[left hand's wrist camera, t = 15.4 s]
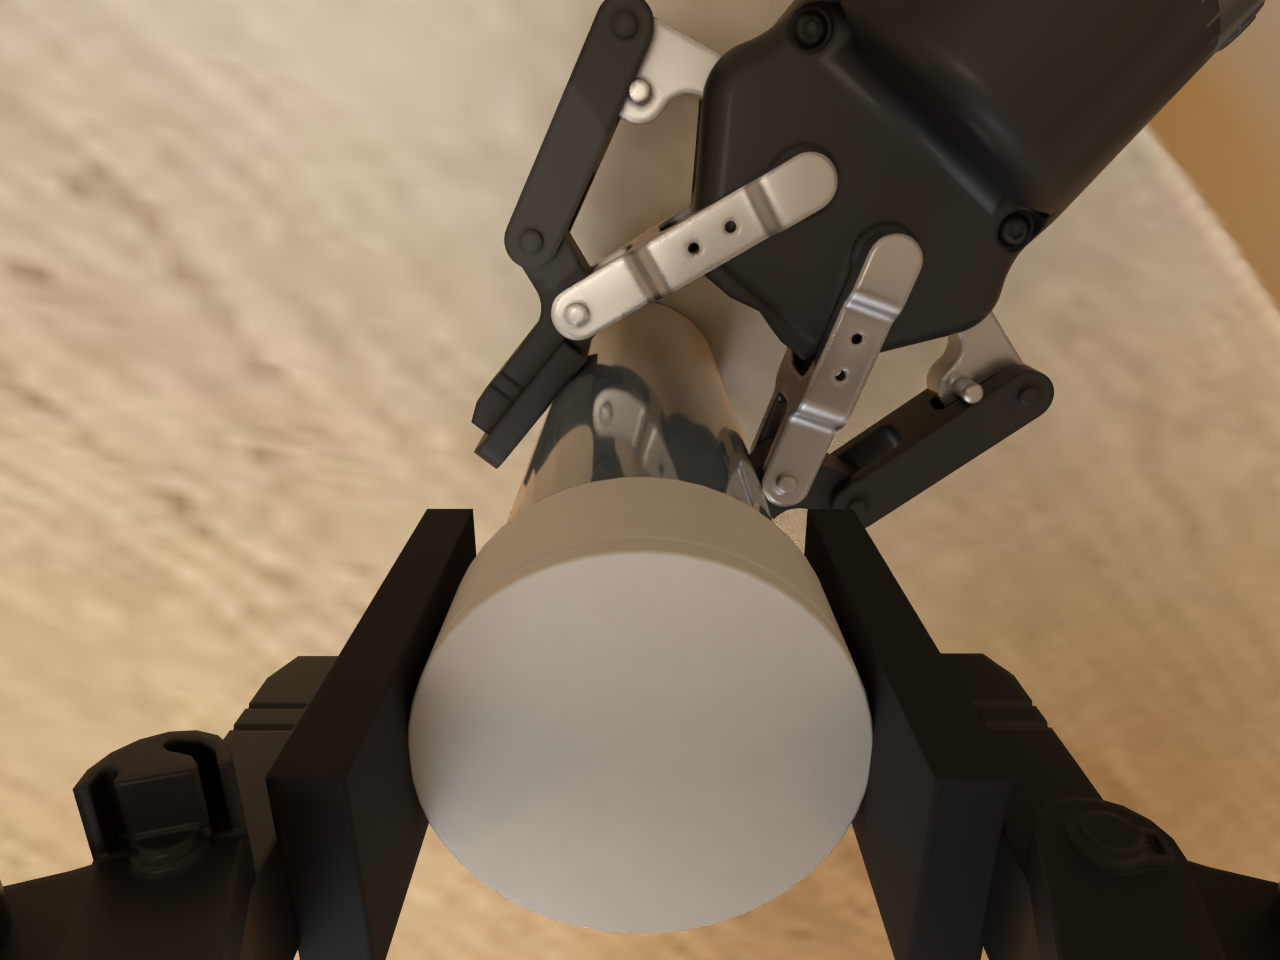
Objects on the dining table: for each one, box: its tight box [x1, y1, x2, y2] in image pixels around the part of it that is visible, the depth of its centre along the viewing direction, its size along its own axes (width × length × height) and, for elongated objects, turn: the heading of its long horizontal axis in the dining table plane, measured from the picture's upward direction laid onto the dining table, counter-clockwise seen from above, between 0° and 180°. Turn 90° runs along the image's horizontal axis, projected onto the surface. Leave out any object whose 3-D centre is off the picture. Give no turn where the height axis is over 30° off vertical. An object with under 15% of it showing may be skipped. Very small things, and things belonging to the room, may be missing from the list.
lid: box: [408, 477, 873, 934], centre depth 11 cm, size 6×6×2 cm
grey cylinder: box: [507, 302, 774, 523], centre depth 19 cm, size 5×5×18 cm
